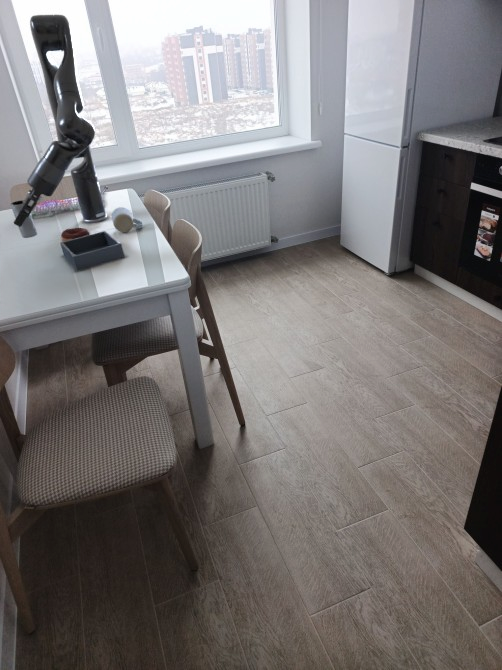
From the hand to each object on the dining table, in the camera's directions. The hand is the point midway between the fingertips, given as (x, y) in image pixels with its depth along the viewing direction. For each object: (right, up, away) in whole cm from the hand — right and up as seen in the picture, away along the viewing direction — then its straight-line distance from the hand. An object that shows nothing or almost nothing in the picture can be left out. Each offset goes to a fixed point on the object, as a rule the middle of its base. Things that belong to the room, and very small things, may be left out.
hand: (18, 222), depth 144 cm
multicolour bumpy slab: (-11, +21, +64) cm, 69 cm away
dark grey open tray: (+18, -8, +14) cm, 24 cm away
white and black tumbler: (+2, -4, +3) cm, 5 cm away
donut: (+7, 0, +29) cm, 29 cm away
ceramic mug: (+24, +6, +35) cm, 43 cm away
